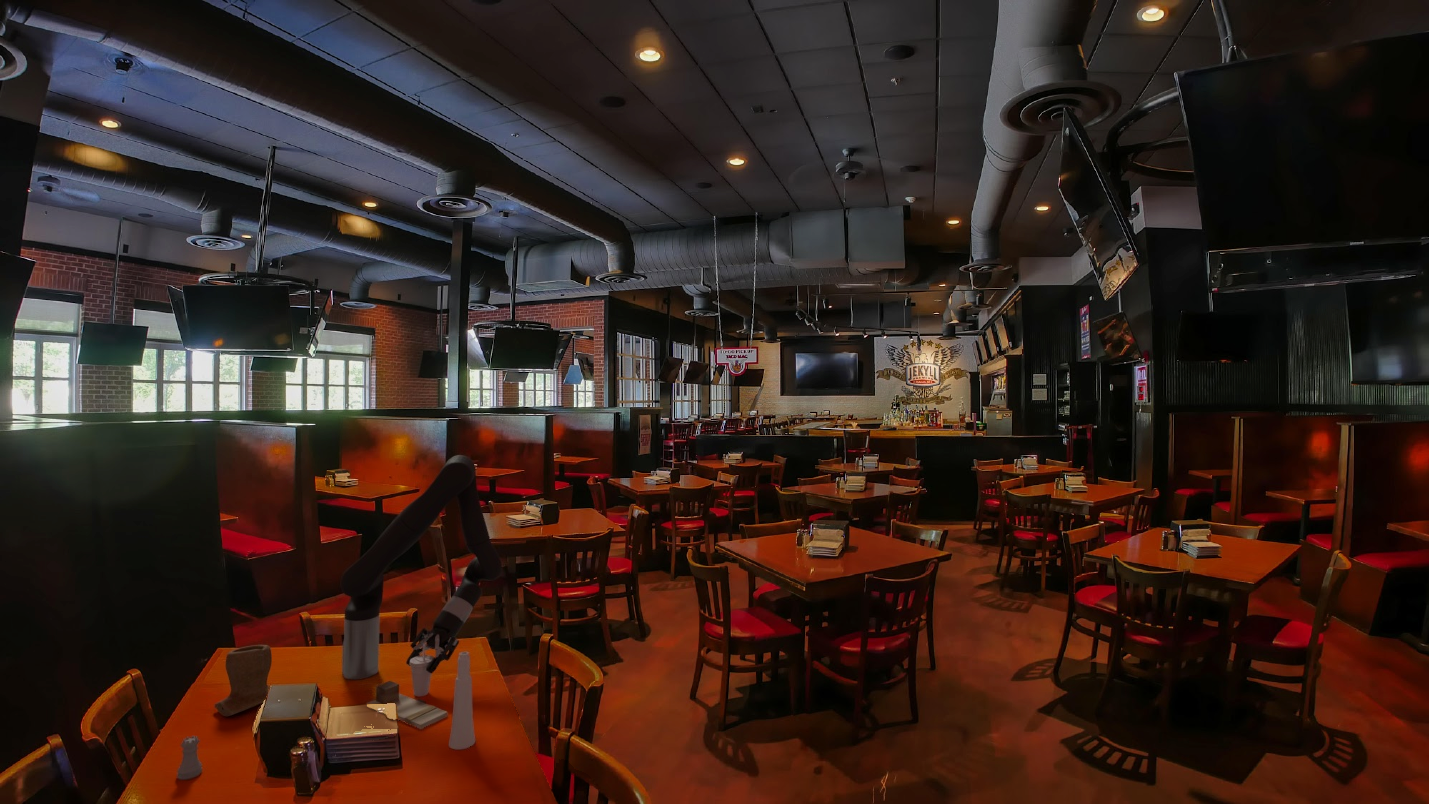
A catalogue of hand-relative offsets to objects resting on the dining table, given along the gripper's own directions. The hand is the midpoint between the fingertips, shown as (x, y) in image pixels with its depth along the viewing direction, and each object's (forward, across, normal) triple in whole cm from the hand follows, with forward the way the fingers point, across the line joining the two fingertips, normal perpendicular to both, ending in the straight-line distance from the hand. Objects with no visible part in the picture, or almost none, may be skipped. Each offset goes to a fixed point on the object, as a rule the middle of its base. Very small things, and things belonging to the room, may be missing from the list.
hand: (418, 668), depth 186 cm
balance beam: (+11, +6, 0) cm, 12 cm away
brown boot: (+25, -33, -14) cm, 44 cm away
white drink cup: (+5, 0, +6) cm, 8 cm away
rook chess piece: (+41, -8, -31) cm, 52 cm away
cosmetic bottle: (+13, +31, -2) cm, 34 cm away
